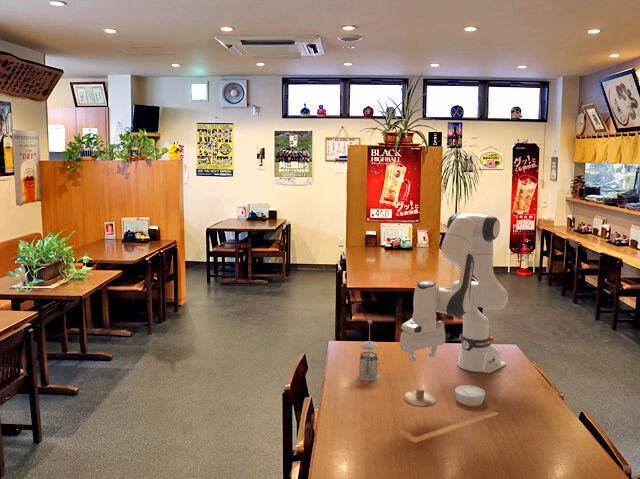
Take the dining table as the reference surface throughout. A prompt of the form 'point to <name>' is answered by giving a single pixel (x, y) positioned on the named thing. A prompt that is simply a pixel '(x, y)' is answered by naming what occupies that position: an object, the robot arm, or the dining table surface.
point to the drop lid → (419, 398)
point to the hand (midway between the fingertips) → (422, 358)
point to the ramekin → (469, 395)
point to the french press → (368, 361)
